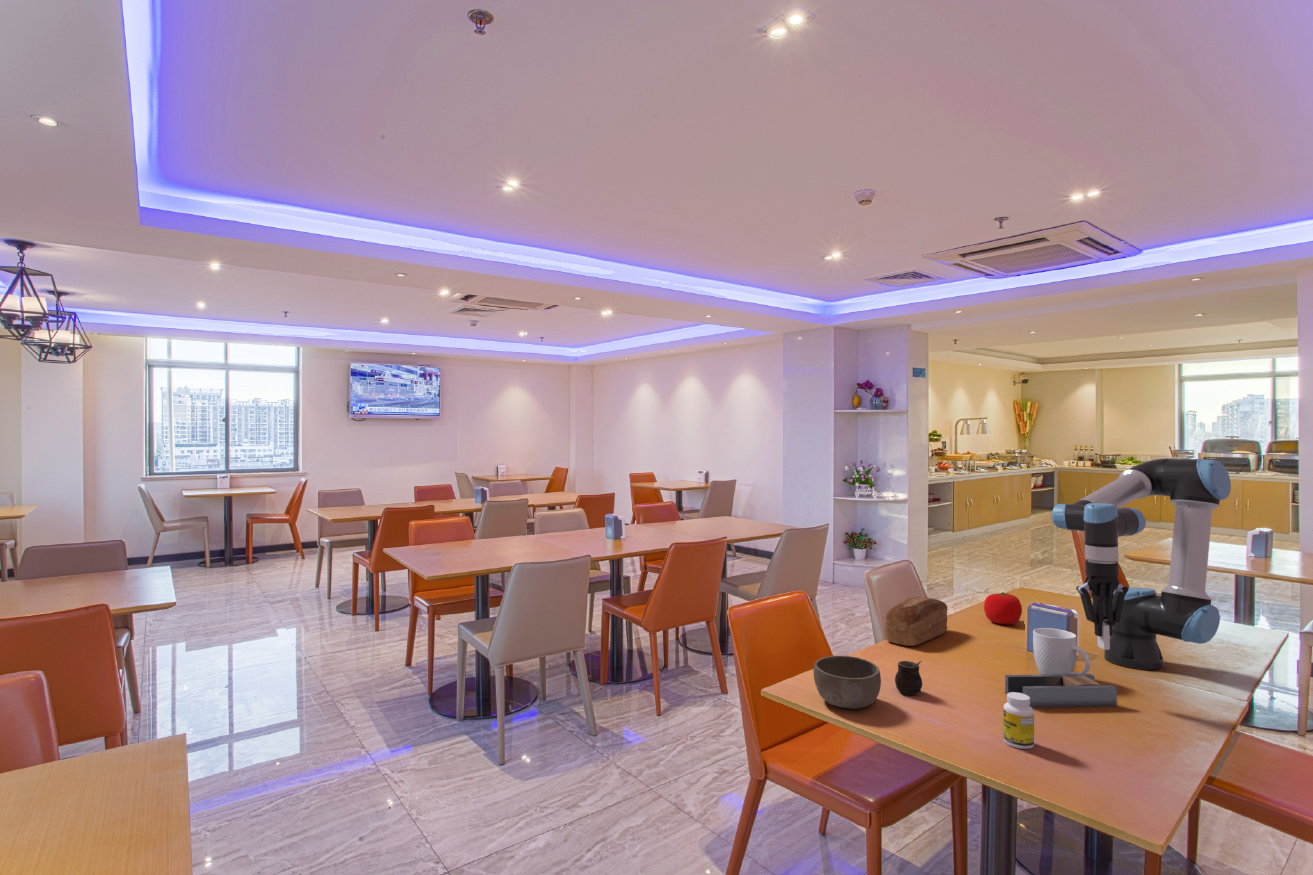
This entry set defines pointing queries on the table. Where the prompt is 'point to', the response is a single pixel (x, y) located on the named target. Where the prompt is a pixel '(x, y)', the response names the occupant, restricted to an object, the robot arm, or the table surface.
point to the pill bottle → (1018, 721)
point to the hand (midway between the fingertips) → (1103, 647)
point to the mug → (1057, 651)
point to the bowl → (847, 681)
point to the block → (1078, 681)
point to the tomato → (1003, 608)
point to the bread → (916, 621)
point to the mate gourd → (908, 678)
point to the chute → (1060, 691)
